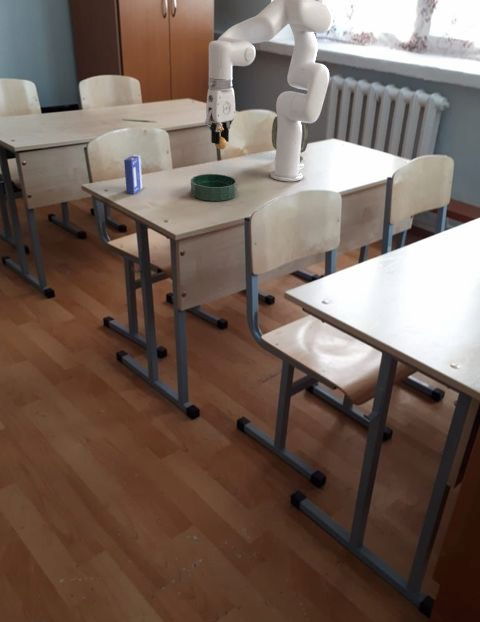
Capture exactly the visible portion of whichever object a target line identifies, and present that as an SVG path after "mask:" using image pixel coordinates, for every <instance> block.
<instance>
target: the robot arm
mask: <svg viewBox="0 0 480 622" xmlns="http://www.w3.org/2000/svg"><path fill="white" fill-rule="evenodd" d="M333 19H334V18H333V12H332V11H331V9H330V7H328V6H327V5H326V4H323V3H322V2H319V1H318V0H272V1H271V2H269V3H268V4H267V5H266V6H265V7H264V8H263V9H262V10H261V11H260V12H259V13H258V14H256V15H255V16H253V17H249V18H247V19H245V20H243V21H241V22H237V23H236V24H234V25H232V26H230V27H229V28H228V29H227V30H226V31H224V32H223V33H222V34H221V35H220V36H219V37H218V39H217V40H212V41H210V42H209V44H208V83H207V85H208V89H207V95H206V105H205V107H206V108H205V112H206V113H205V114H206V116H205V117H206V119H205V120H204V124H205V125H206V126H208V128H209V130H210V131H211V132H210V134H211V135H210V137H211V138H210V139H211V140H210V141H211V144H214V145H215V144H219V143H220V136H221V137H223V138H224V139H225V140H226V142H227V143H228V142H229V140H230V138H229V137H230V129H231V126H232V123H233V121H235V119H236V99H235V89H234V88H233V67H234V66H237V67H247V66H250V65H251V64H252V63H253V62H254V61H255V59H256V48H255V46H254V45H253V44H260V43H264V42H268V41H271V40H273V39H274V38H275V36H277V35H278V34H279V33H280V32H281V31H282V30H284V28H285V27H287V26H288V25H289V26H290V29H291V32H292V34H293V40H294V45H293V51H292V55H291V59H290V63H289V67H288V72H287V78H286V80H287V83H288V86H290V87H292V88H294V89H298V90H304V91H307V92H306V93H302V92H298V91H293V90H287V91H283V92H281V93H280V94H279V95H278V97H277V99H276V103H275V110H276V116H277V120H278V128H277V145H276V149H275V158H276V159H275V163H274V170H273V171H271V172H270V177H271V178H272V179H273V180H277V181H280V182H299V181H301V180H302V179H303V174H302V173H301V172H300V171H301V170H303V169H304V168H305V164H304V163H300V162H301V160H300V155H301V153H300V151H301V139H302V128H301V124H300V122H305V123H308V124H314V123H316V121H318V119H319V117H320V115H321V112H322V109H323V105H324V102H325V99H326V95H327V91H328V87H329V81H330V72H329V69H328V68H327V66H326V65H325V64H323V63H319V62H316V58H317V53H318V42H317V38H316V35H315V34H325V33H327V32H328V31H329V30H330V29H331V27H332V25H333ZM212 118H213V120H214V121H212ZM214 123H216V126H215V125H214ZM218 123H220V124H221V126H222V127H223V129H224V130H222V132H221V133H220V132H218V130H219V126H220V125H219V124H218ZM220 128H221V127H220ZM221 129H222V128H221Z"/></svg>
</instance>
